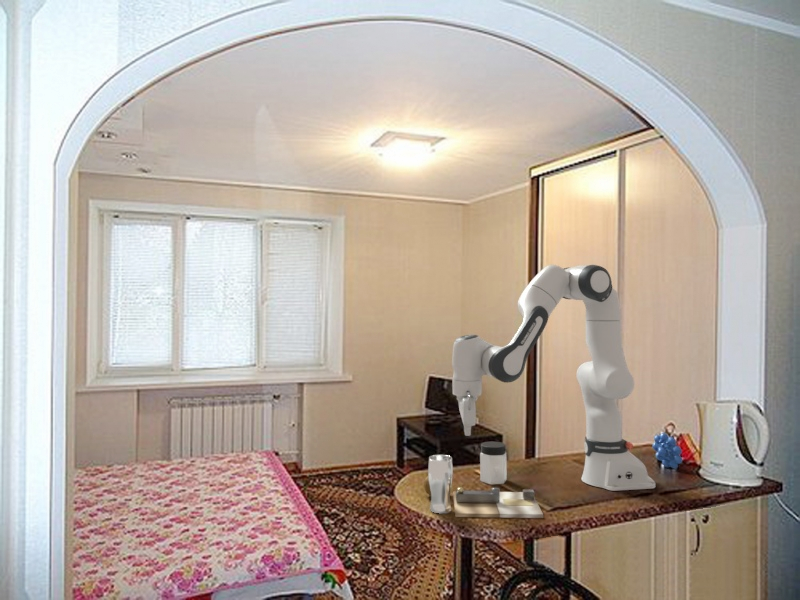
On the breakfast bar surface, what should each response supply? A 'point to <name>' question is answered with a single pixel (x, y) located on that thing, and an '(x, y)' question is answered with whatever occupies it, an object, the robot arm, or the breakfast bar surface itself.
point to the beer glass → (440, 482)
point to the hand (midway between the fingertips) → (467, 434)
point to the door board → (502, 506)
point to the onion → (427, 486)
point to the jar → (493, 463)
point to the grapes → (667, 450)
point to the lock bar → (478, 495)
